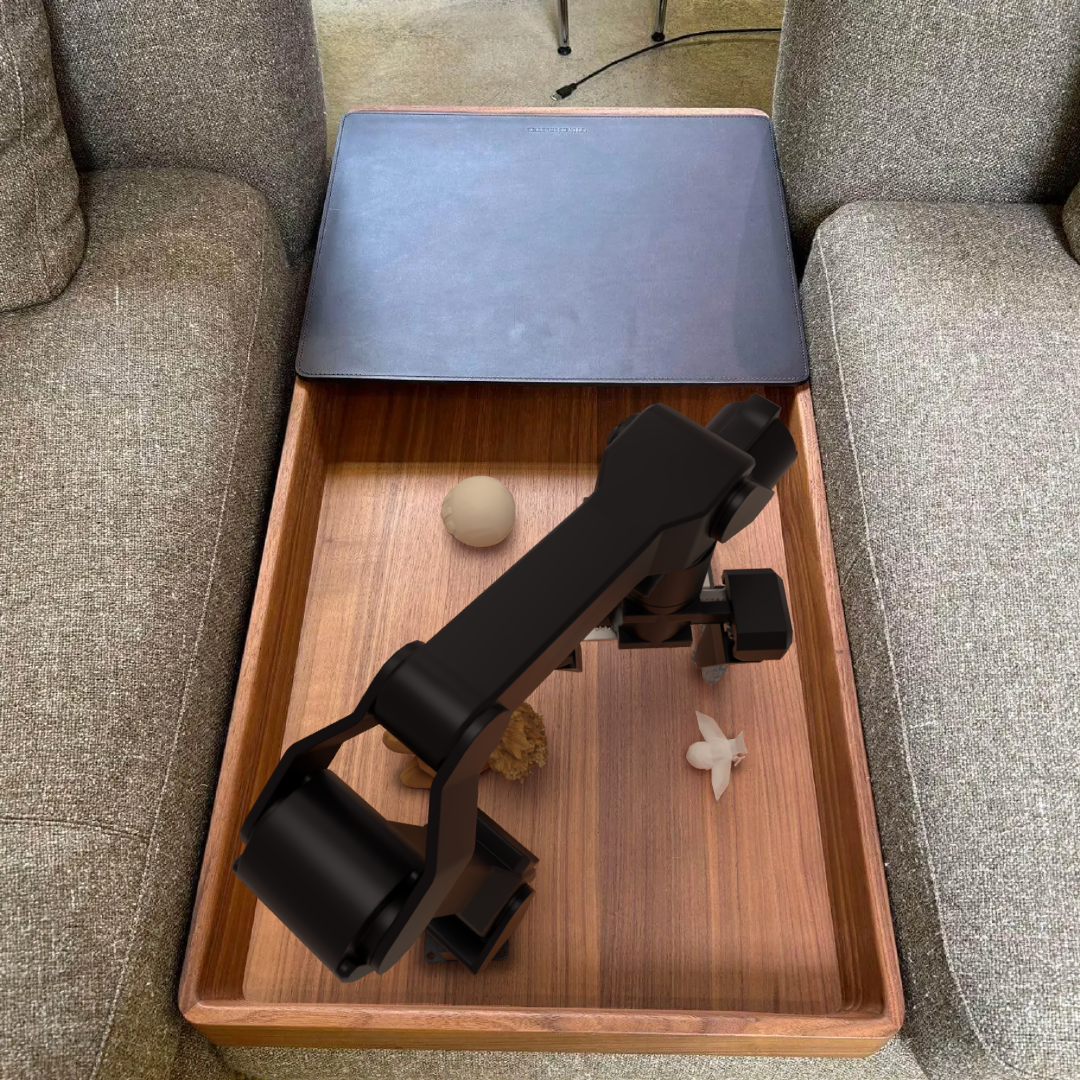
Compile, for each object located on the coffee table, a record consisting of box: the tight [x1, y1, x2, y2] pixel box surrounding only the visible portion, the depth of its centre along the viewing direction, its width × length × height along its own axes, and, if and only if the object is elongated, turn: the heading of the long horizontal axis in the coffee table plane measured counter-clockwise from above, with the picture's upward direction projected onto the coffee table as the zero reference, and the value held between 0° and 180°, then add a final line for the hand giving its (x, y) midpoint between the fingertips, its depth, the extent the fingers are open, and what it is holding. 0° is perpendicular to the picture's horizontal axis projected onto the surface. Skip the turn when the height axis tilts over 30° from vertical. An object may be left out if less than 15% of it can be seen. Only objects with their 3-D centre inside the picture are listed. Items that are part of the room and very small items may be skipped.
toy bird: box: [685, 710, 749, 803], centre depth 75 cm, size 8×5×5 cm, turn 7°
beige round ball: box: [439, 475, 517, 548], centre depth 86 cm, size 7×7×7 cm
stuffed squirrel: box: [381, 701, 550, 789], centre depth 72 cm, size 10×14×13 cm
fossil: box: [691, 624, 729, 686], centre depth 80 cm, size 8×4×5 cm, turn 176°
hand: (638, 664), depth 68 cm, fingers open, 9 cm apart
